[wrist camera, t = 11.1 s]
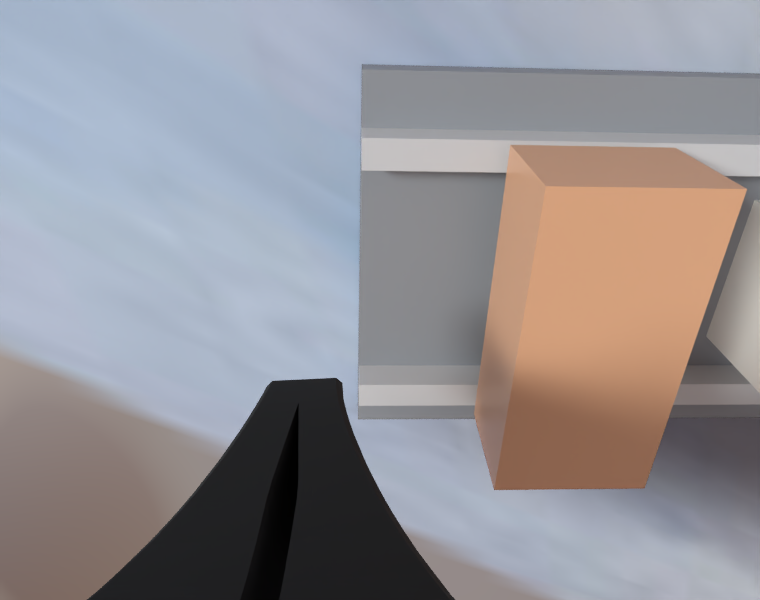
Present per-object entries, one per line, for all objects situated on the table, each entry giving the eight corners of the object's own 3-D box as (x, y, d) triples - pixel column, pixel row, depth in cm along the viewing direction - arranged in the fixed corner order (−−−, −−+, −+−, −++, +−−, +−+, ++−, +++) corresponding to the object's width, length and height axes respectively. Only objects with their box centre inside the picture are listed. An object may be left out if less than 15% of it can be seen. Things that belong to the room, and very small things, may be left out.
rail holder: (1103, 81, 16) (1481, 141, 11) (912, 401, 22) (1099, 549, 16) (361, 64, 15) (366, 121, 10) (357, 403, 21) (359, 560, 15)
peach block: (675, 147, 14) (747, 188, 12) (602, 413, 18) (643, 488, 16) (510, 144, 14) (545, 186, 11) (473, 414, 18) (494, 489, 16)
